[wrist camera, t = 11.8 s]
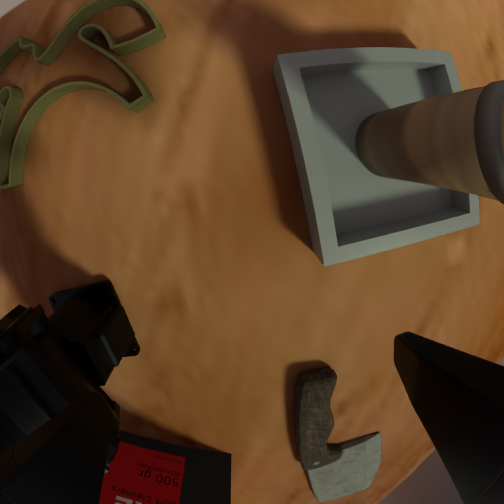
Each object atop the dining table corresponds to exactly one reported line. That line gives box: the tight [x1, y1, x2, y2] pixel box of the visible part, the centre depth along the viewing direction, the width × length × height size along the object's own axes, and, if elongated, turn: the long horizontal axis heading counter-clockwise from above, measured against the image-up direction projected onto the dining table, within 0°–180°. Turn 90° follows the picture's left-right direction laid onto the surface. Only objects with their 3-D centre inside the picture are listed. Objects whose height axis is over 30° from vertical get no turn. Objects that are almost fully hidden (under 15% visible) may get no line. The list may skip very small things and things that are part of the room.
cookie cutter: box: [0, 0, 166, 190], centre depth 15 cm, size 18×12×2 cm, turn 109°
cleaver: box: [294, 368, 382, 502], centre depth 27 cm, size 29×10×2 cm, turn 17°
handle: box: [356, 80, 504, 204], centre depth 11 cm, size 5×5×12 cm
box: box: [272, 47, 479, 267], centre depth 17 cm, size 12×12×3 cm
